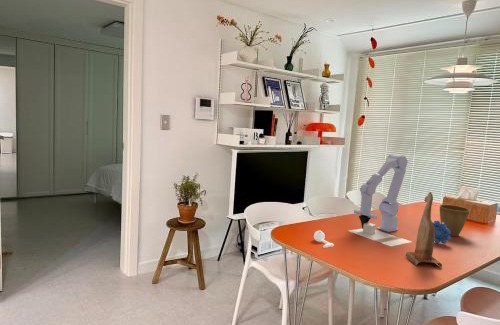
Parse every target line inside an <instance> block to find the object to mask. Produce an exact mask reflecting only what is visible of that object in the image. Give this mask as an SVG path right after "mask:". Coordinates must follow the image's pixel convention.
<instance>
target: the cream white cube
mask: <svg viewBox="0 0 500 325" xmlns="http://www.w3.org/2000/svg"><path fill="white" fill-rule="evenodd" d="M375 230H377V225H376V224H374V223H371V222H368V223H365V224H364V225H363V233H366V234H369V235H372V234H375Z"/></svg>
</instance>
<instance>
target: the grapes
mask: <svg viewBox="0 0 500 325" xmlns="http://www.w3.org/2000/svg"><path fill="white" fill-rule="evenodd" d="M432 223H433V225H434V228H435V239H434V243H436V244H439V243H441V244H443V245H445V244H447V241H450V240H452V238H451V237H452V236H450V235H449V234H451V231H450V229H448V228H447V225H446V224H445V223H441V221H440V220H437V219H436V220H434V222H433V221H432Z"/></svg>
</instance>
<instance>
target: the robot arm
mask: <svg viewBox="0 0 500 325" xmlns="http://www.w3.org/2000/svg"><path fill="white" fill-rule="evenodd" d="M408 162H409V161H408V158H407V157H406V156H405V155H399V154H394V153H390V154H389V155H387V156H386V158H385V162H384V163H383V164H382V166H381V167H380V168H379V170H378V171H377V173H373V174H372V175H371V177H370V178H369V179H368V180H367V181H366V182H365V183H363V184H362V185H360V188H359V191H360V195H361V199H360V207H359V209H354V210H353V214H357V215H358V219H359V220H360V224H361V229H363V225H364V224H365V223H369V221H370V220H371V219H373V220H378V219H377V218H378V215H377V214H374V213H372V204H373V195H374V194H375V193H376V189H377V187H378V186H379V185H380V183H382V181H383V177H384V176H385V175H386V174H387V173H388V172H389V171H390V170H391V169H393V170H394V173H393V176H392V179H391V183H390V186H389V189H388V192H387V194H386V196H385V197H384V198H383V199H382V201H381V202H380V203H379V206H378V210H379V211H380V224H379V225H380V226H378V227H377V226H376V229H377V230H380V231H384V232H386V233H390V232H394V231H395V232H396V231H399V229H398V221H399V219H398V216H397V214H398V213H399V206H400V204H399V202H398V200H397V198H398V196H399V193H400V190H401V186H402V183H403V180H404V178H405V176H406V175H405V174H406V172H407V171H406V169H407V166H408Z"/></svg>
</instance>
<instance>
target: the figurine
mask: <svg viewBox="0 0 500 325" xmlns="http://www.w3.org/2000/svg"><path fill="white" fill-rule="evenodd" d="M313 234H314V235H313V238H314V240H315V241H316V242H322V243H324V244H323V249H325V248H326V249H327V248H330V247H331V248H333V247H334V245H335V244H334V243H332V242H329V241H327V240H325V238H326V235H325V233H324V231H322V230H316V231H315V232H314V233H313Z"/></svg>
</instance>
